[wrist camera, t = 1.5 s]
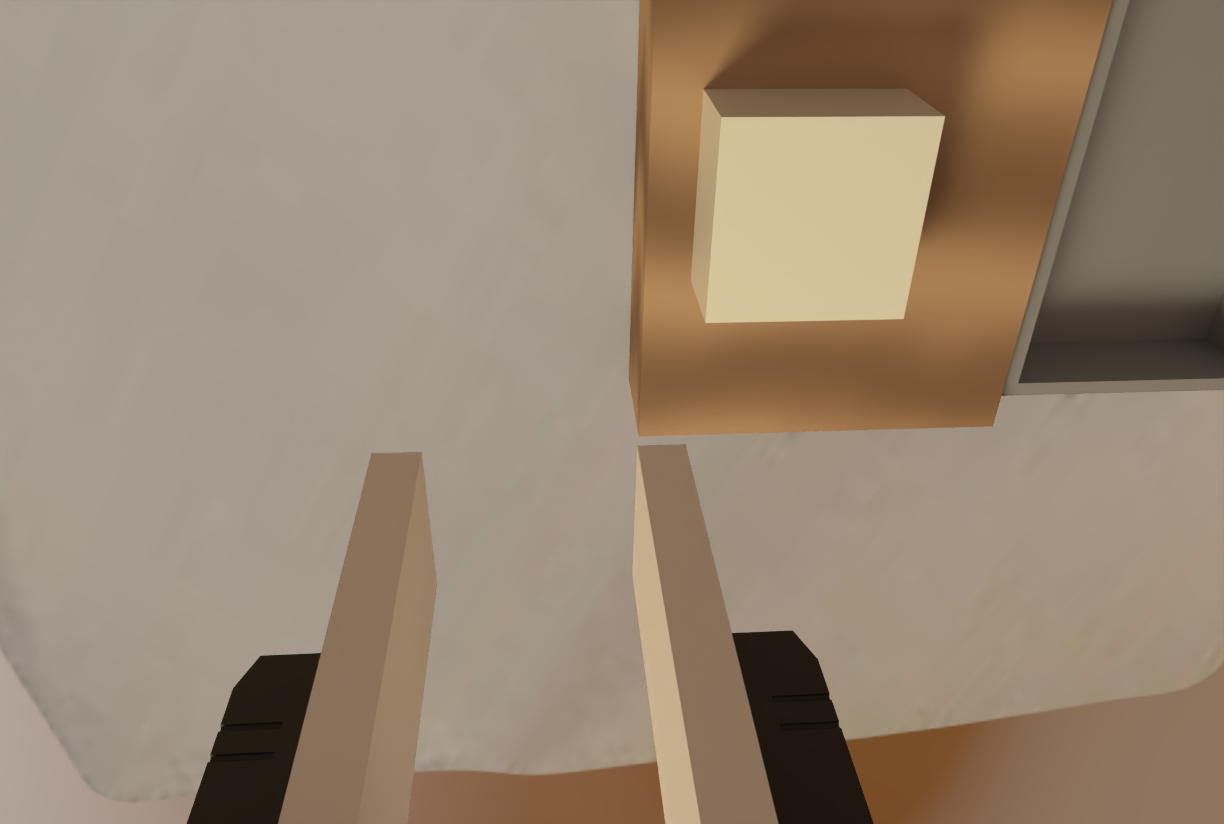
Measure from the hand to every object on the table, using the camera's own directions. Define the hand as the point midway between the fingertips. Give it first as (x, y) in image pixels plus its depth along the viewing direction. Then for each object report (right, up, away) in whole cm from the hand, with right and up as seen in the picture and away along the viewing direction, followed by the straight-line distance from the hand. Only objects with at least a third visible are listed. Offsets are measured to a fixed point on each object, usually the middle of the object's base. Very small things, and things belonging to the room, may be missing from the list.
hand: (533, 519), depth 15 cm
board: (+9, +11, +17) cm, 22 cm away
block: (+7, +9, +14) cm, 18 cm away
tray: (+20, +11, +18) cm, 29 cm away
